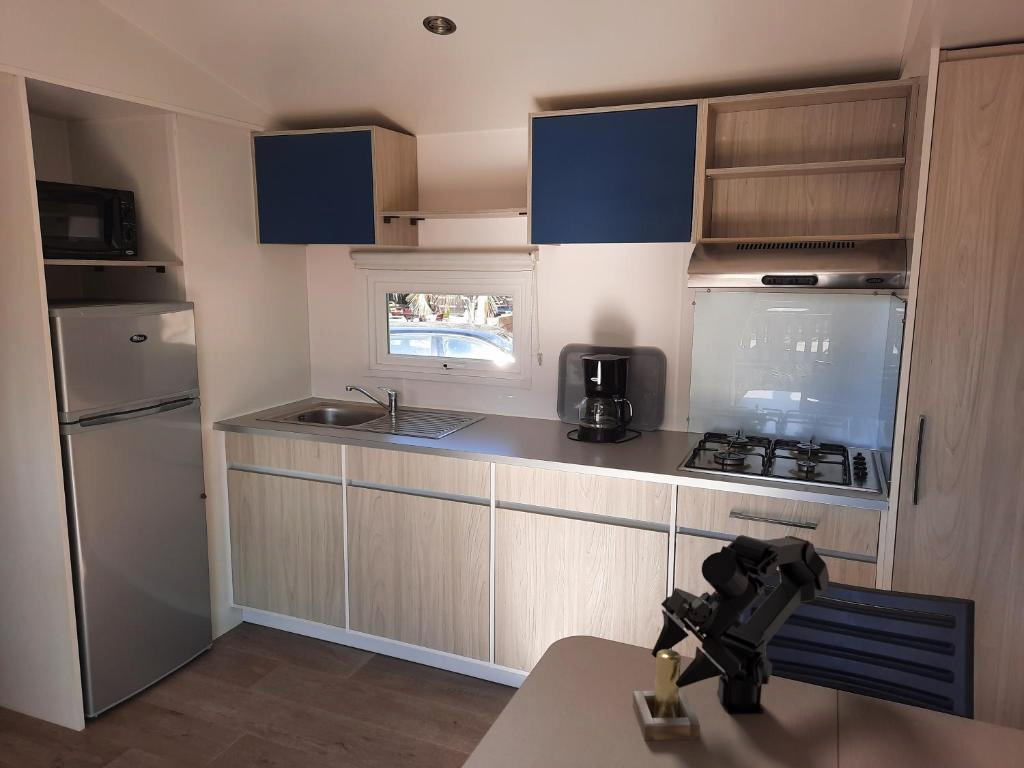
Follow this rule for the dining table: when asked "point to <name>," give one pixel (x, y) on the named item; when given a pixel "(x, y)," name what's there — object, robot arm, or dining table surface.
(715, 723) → the dining table surface
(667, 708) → the gold cylinder
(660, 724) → the shallow grey tray
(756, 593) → the robot arm
